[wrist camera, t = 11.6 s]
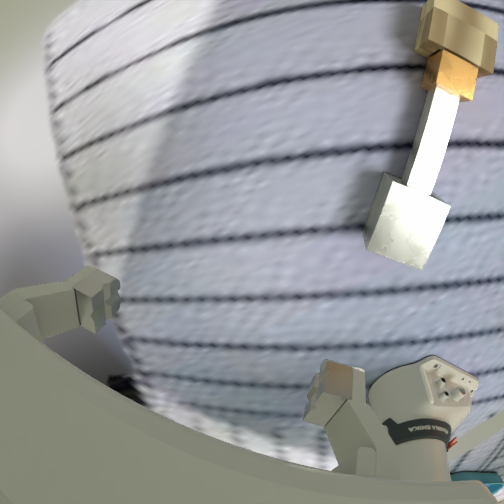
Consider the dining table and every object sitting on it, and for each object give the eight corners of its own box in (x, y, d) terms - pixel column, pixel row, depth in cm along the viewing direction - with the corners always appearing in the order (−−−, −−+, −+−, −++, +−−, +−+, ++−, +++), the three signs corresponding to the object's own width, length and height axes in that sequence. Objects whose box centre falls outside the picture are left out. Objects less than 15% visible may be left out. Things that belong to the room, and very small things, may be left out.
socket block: (477, 35, 21) (498, 24, 16) (470, 79, 24) (492, 74, 19) (421, 7, 22) (435, -11, 17) (413, 51, 25) (428, 39, 20)
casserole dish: (403, 493, 64) (402, 511, 57) (450, 465, 53) (452, 485, 47) (468, 494, 60) (469, 508, 54) (511, 466, 50) (514, 482, 44)
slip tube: (462, 56, 23) (481, 48, 18) (424, 193, 32) (438, 206, 27) (430, 41, 24) (446, 28, 19) (393, 180, 33) (403, 191, 27)
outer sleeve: (434, 193, 32) (450, 206, 27) (411, 249, 36) (421, 270, 30) (383, 171, 33) (392, 181, 27) (362, 231, 36) (366, 249, 31)
